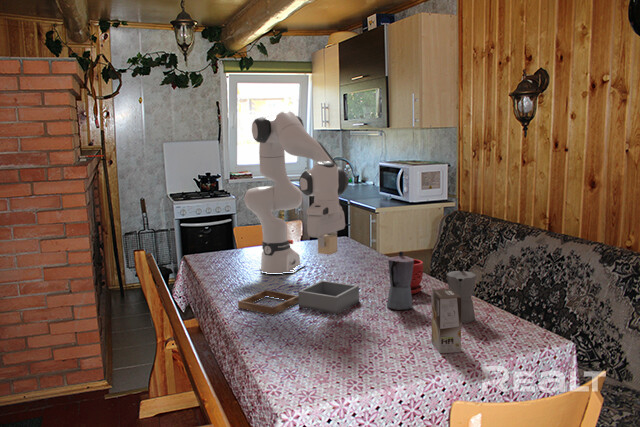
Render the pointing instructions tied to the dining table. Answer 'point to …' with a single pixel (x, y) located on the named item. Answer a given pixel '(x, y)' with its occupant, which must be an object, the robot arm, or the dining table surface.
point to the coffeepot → (463, 291)
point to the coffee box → (446, 320)
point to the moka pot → (400, 282)
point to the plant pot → (416, 276)
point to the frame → (249, 305)
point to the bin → (328, 296)
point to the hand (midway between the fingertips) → (327, 245)
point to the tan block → (328, 245)
